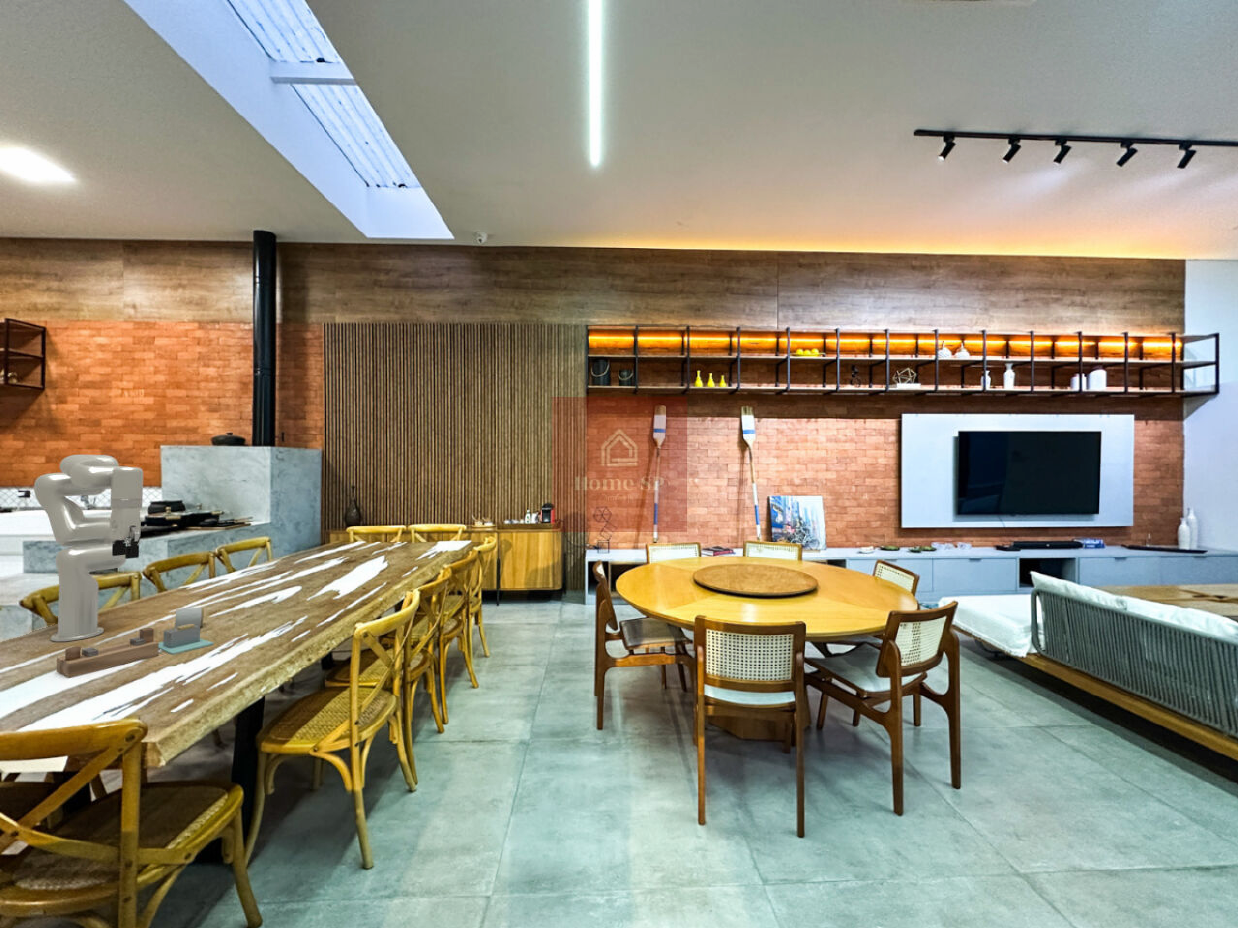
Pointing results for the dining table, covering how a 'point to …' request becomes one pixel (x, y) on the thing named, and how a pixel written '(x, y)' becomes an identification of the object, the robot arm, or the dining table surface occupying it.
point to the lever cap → (181, 636)
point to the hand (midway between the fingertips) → (125, 556)
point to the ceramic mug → (189, 616)
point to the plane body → (107, 655)
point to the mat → (185, 647)
